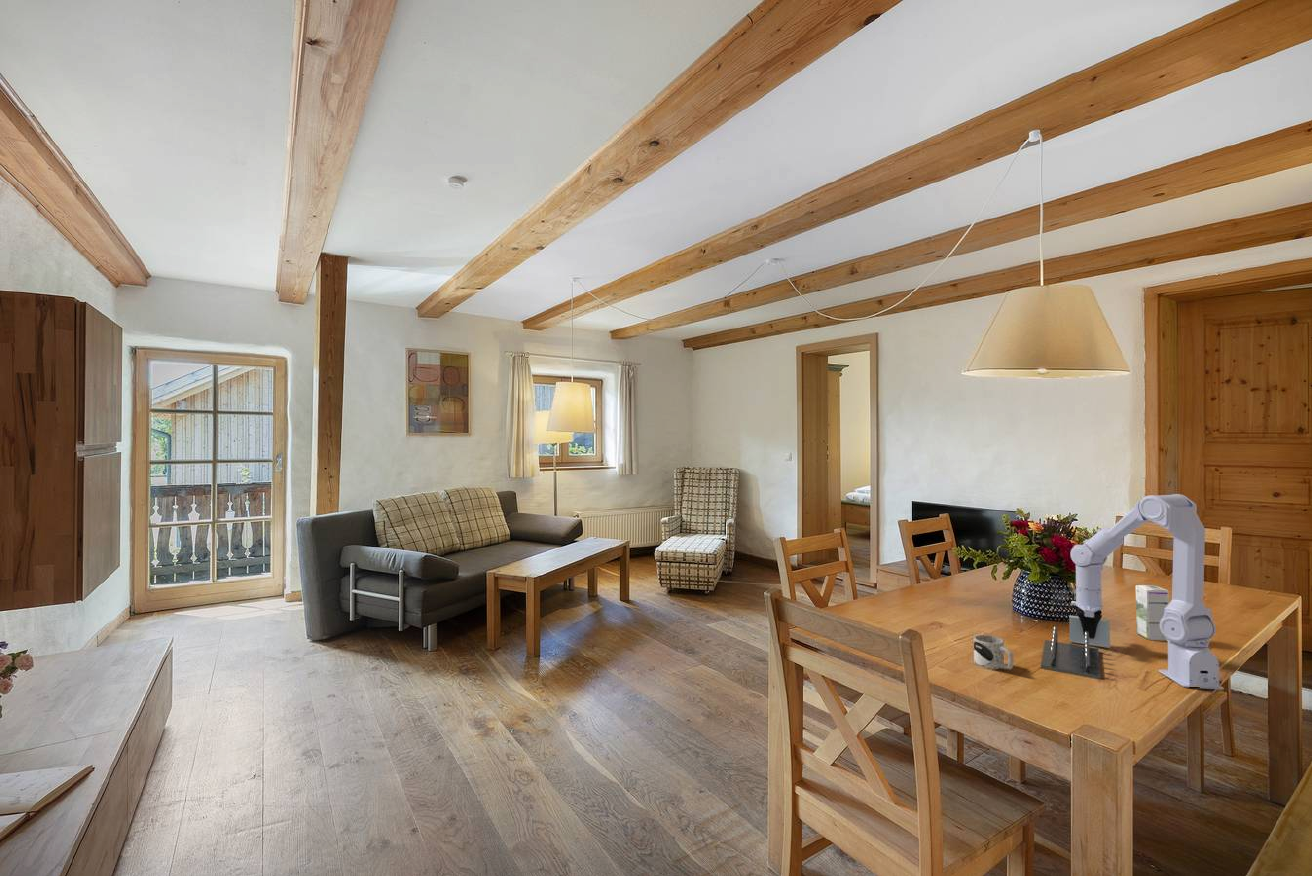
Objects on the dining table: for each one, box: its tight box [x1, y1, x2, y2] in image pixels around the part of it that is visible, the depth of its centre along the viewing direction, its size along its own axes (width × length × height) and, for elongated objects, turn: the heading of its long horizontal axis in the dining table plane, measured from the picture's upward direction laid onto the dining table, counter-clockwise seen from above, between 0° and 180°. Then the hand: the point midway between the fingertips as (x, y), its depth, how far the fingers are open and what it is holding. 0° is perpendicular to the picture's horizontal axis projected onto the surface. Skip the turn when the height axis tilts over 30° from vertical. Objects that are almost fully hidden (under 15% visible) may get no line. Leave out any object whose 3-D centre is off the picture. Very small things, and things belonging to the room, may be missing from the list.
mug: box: [973, 634, 1015, 671], centre depth 148 cm, size 10×7×7 cm
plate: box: [1068, 614, 1111, 649], centre depth 162 cm, size 2×9×7 cm, turn 54°
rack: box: [1040, 626, 1102, 680], centre depth 152 cm, size 22×12×5 cm, turn 144°
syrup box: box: [1135, 584, 1170, 642], centre depth 168 cm, size 6×6×14 cm
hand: (1089, 636), depth 162 cm, fingers closed on plate, 2 cm apart
